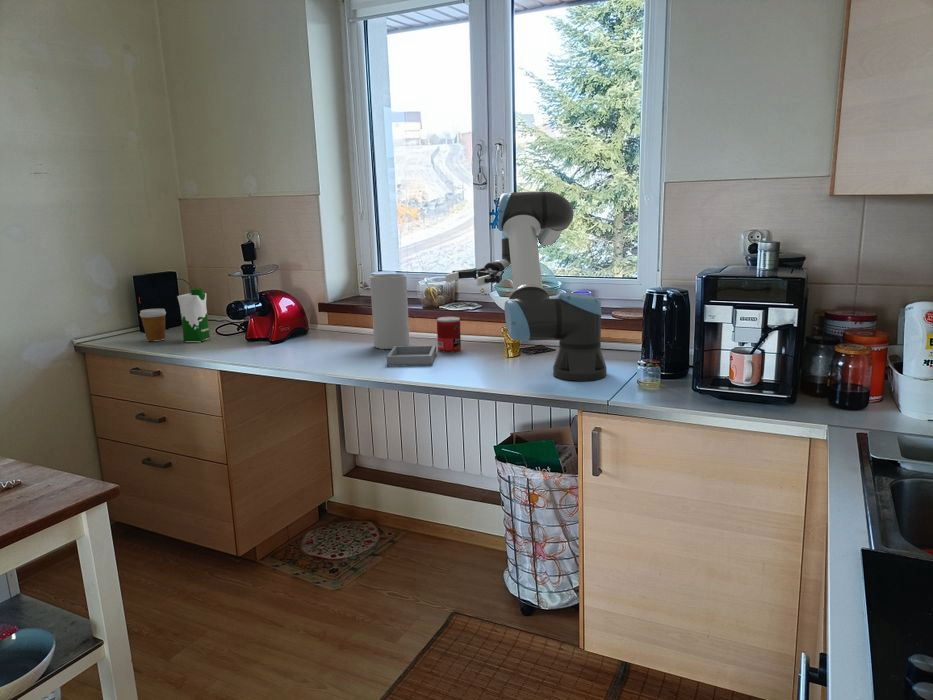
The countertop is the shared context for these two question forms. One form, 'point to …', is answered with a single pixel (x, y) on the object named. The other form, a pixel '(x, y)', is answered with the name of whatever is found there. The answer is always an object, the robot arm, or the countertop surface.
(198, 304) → the milk carton
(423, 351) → the box
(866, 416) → the countertop surface
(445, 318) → the canned food
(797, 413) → the countertop surface
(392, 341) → the cylinder vase
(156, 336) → the disposable coffee cup
